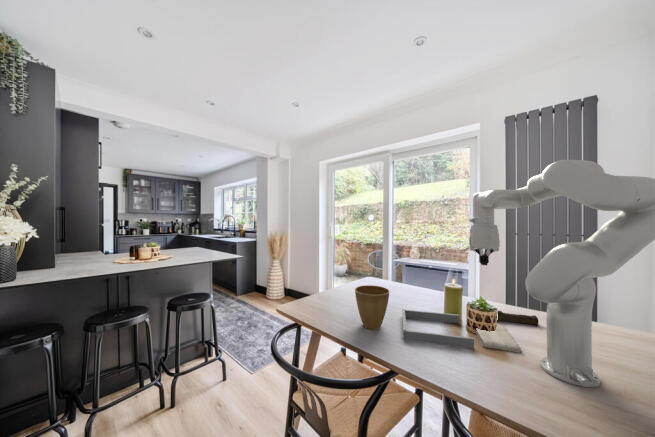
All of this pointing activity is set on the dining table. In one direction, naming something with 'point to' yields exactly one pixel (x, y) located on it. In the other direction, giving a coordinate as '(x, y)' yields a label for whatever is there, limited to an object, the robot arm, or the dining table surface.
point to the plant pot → (372, 305)
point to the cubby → (433, 337)
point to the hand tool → (517, 318)
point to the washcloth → (498, 339)
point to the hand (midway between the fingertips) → (483, 264)
